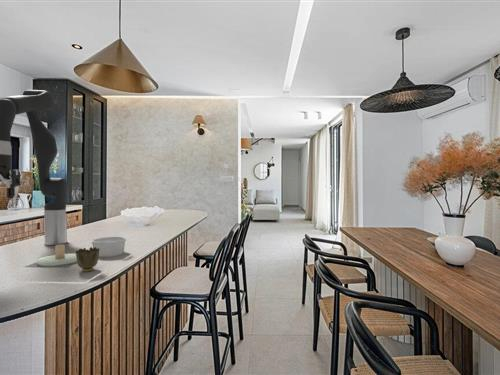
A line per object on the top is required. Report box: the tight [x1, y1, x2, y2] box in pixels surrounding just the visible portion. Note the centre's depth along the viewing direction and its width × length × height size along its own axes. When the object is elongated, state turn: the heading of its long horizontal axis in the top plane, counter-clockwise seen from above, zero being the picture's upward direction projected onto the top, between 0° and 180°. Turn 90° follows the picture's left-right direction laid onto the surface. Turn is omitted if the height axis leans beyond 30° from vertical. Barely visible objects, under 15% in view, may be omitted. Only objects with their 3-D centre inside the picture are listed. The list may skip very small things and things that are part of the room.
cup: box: [75, 246, 100, 273], centre depth 106 cm, size 8×7×8 cm
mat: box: [24, 261, 78, 269], centre depth 118 cm, size 16×16×1 cm
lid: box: [36, 244, 78, 268], centre depth 118 cm, size 15×15×6 cm
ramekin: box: [91, 236, 126, 258], centre depth 130 cm, size 13×13×7 cm
